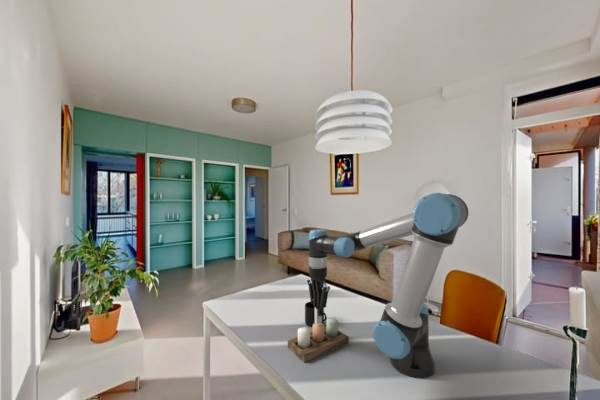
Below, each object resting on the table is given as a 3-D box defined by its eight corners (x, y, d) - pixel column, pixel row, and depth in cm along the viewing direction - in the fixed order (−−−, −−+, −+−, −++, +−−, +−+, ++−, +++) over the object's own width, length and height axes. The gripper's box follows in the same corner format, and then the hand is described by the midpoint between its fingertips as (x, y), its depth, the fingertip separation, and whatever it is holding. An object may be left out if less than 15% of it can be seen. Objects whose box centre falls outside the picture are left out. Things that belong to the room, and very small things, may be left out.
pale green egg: (340, 335, 110) (340, 321, 110) (331, 338, 107) (331, 324, 107) (332, 330, 114) (332, 317, 114) (324, 333, 111) (324, 319, 111)
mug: (320, 331, 118) (320, 311, 118) (301, 323, 126) (301, 305, 126) (331, 324, 125) (331, 305, 126) (312, 317, 133) (312, 299, 133)
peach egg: (327, 340, 106) (326, 326, 106) (317, 344, 103) (317, 329, 103) (319, 335, 110) (319, 321, 110) (310, 338, 107) (310, 324, 107)
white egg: (312, 346, 102) (312, 331, 102) (302, 350, 99) (302, 334, 99) (305, 340, 106) (305, 326, 106) (295, 344, 103) (295, 329, 103)
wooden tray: (348, 343, 108) (348, 336, 108) (304, 362, 95) (304, 354, 95) (330, 331, 118) (330, 325, 118) (287, 347, 105) (287, 340, 105)
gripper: (335, 268, 103) (335, 326, 103) (315, 262, 114) (316, 314, 114) (320, 271, 99) (320, 331, 99) (302, 264, 110) (302, 318, 110)
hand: (318, 322), depth 107 cm, fingers closed
